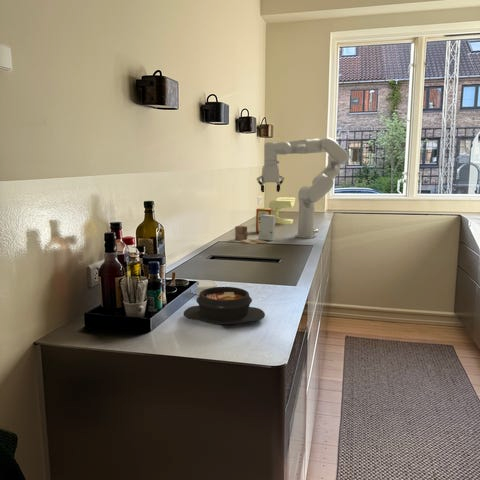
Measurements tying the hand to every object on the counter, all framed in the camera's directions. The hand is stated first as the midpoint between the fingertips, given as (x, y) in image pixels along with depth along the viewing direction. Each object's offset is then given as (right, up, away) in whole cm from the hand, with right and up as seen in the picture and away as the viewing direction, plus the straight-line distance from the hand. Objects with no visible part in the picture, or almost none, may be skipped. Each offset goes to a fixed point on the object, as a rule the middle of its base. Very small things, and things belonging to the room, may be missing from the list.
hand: (270, 191), depth 280 cm
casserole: (-23, -54, -138) cm, 150 cm away
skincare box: (-3, -29, -2) cm, 29 cm away
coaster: (-32, -49, -110) cm, 124 cm away
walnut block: (-18, -29, -2) cm, 34 cm away
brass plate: (-10, -30, -8) cm, 33 cm away
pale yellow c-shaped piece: (+14, -16, +74) cm, 76 cm away
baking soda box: (-3, -24, +25) cm, 35 cm away
